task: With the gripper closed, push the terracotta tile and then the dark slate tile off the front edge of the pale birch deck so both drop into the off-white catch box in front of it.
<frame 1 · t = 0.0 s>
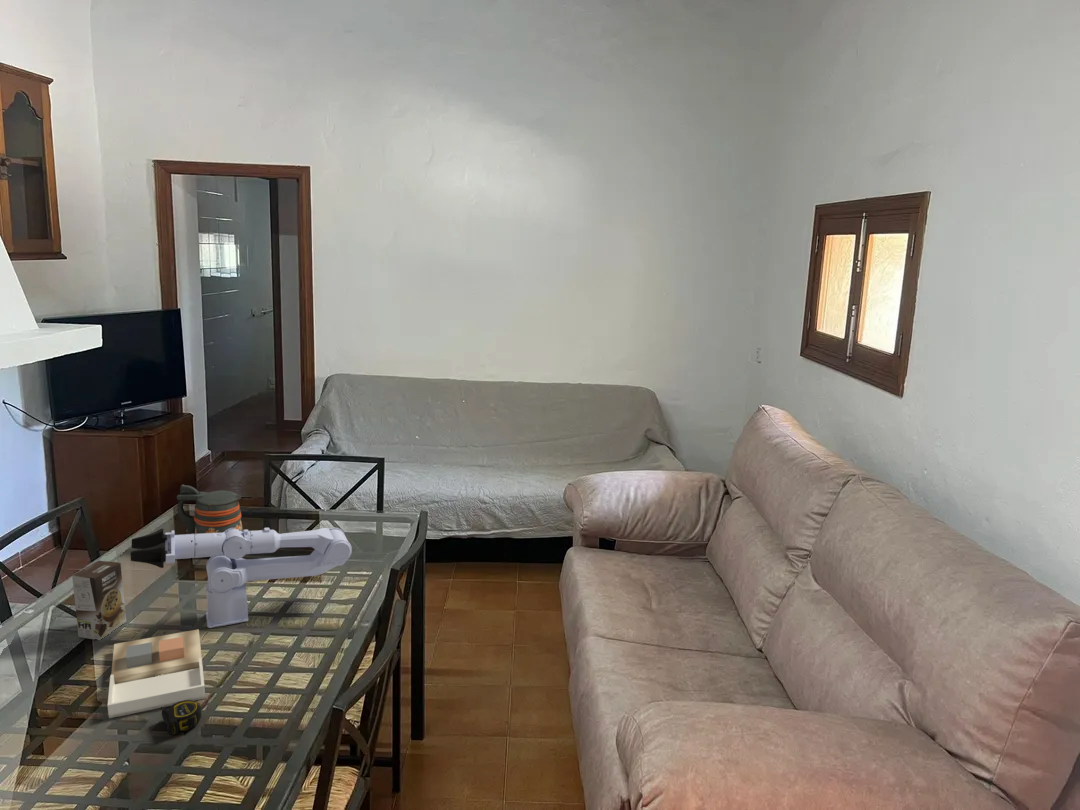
hand: (131, 549, 189), 22 cm above the table, fingers open, 7 cm apart
catch box: (158, 692, 171), on the table
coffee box: (103, 630, 195), on the table
tile slate: (140, 660, 179), point 2 cm above the table, touching deck
beer stein: (212, 548, 242), on the table
tile terracotta: (172, 654, 182), point 2 cm above the table, touching deck
deck: (158, 660, 183), on the table
tape measure: (180, 728, 160), on the table
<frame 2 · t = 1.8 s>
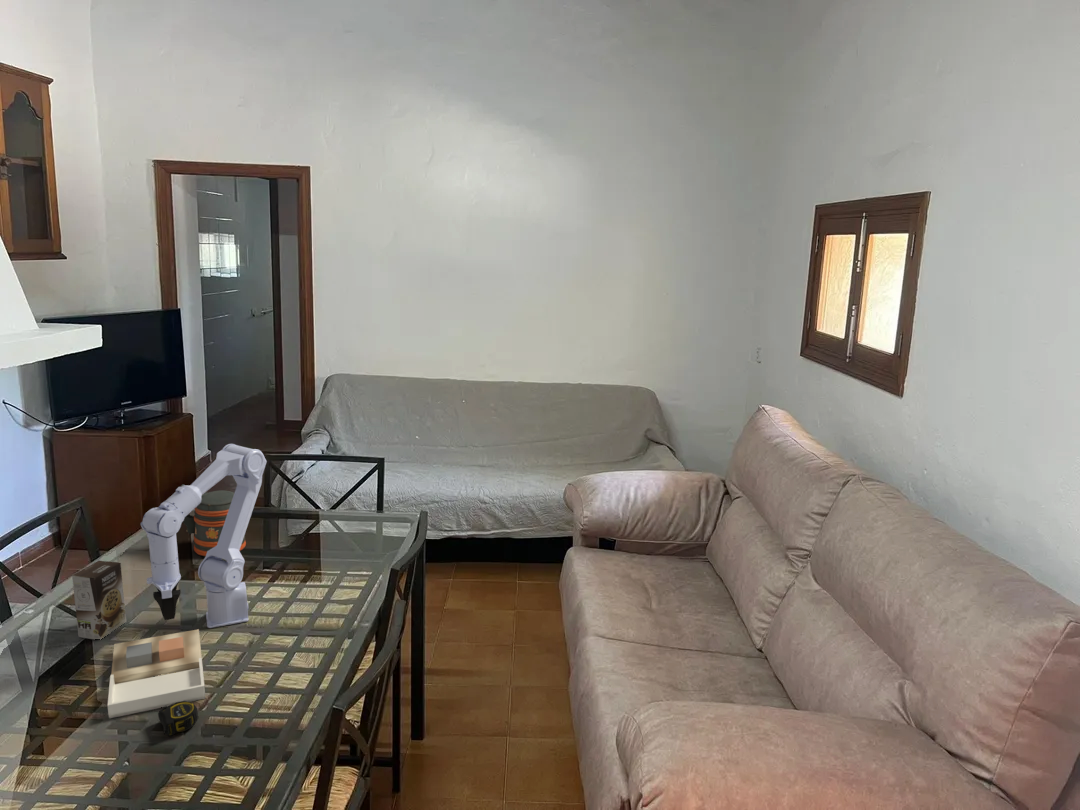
hand: (169, 613, 187), 8 cm above the table, fingers open, 5 cm apart
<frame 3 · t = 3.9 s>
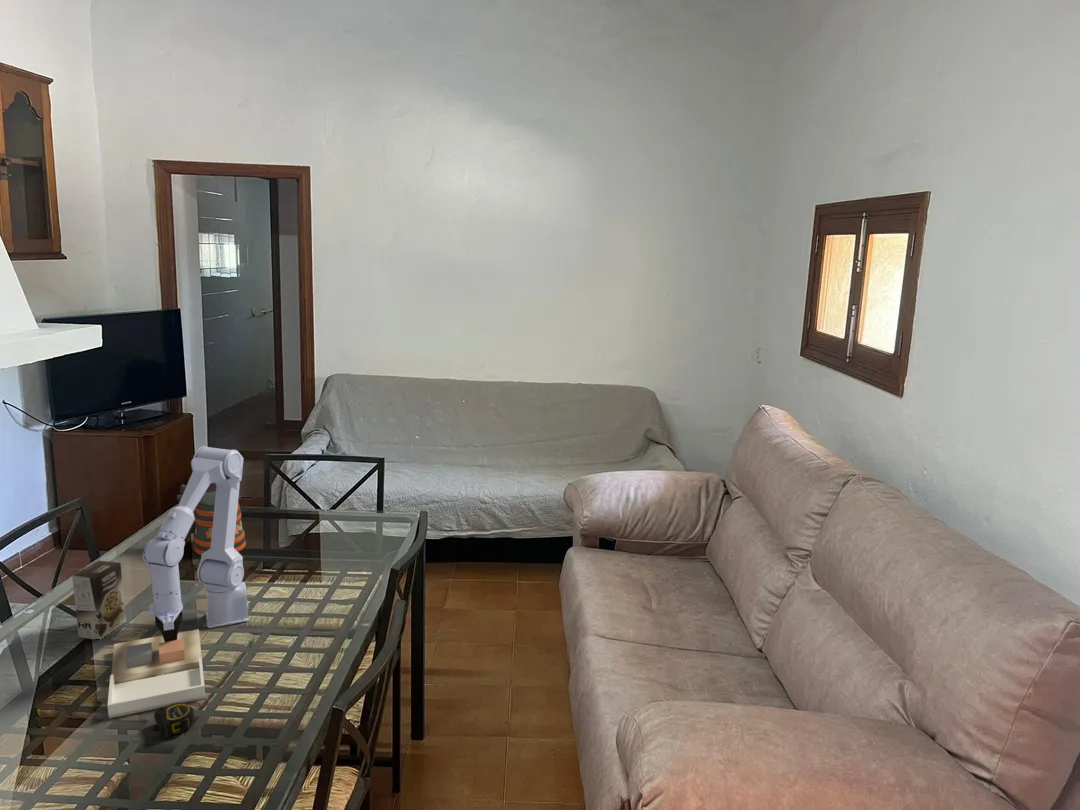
hand: (171, 643, 184), 3 cm above the table, fingers closed
tile terracotta: (172, 656, 181), point 2 cm above the table, touching deck, gripper
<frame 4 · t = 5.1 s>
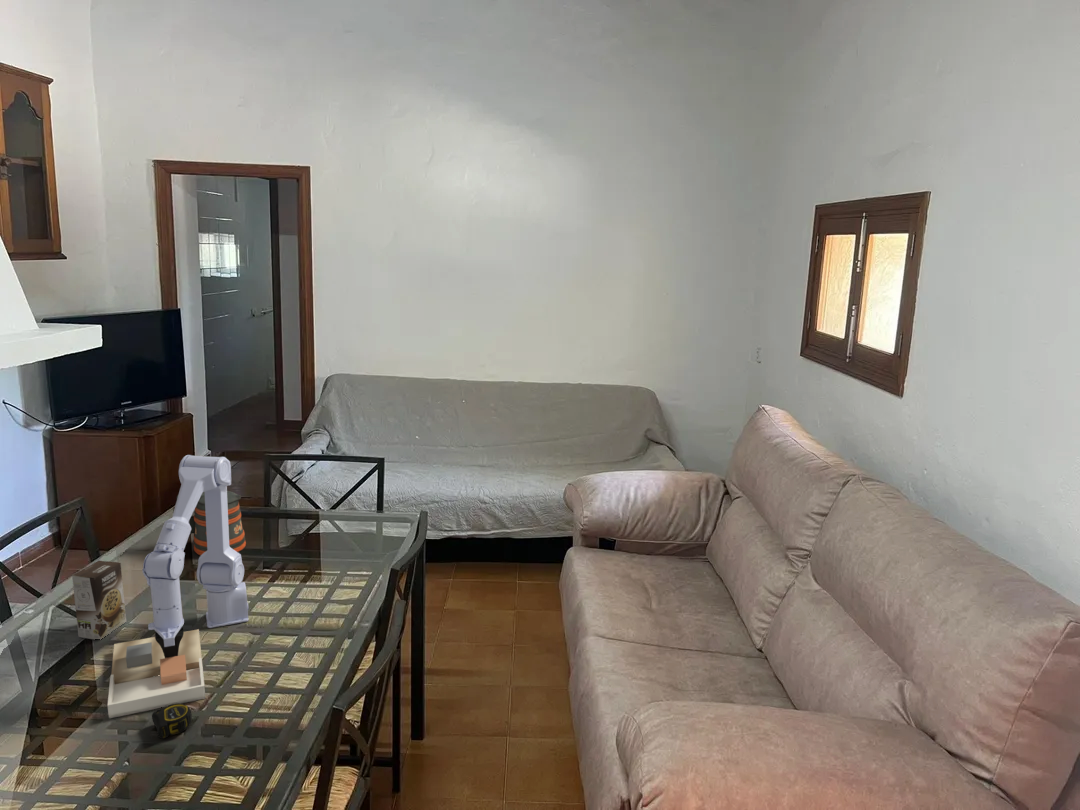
hand: (171, 659, 177), 3 cm above the table, fingers closed
tile terracotta: (173, 673, 176), point 1 cm above the table, tilted 18°, touching catch box, deck, gripper
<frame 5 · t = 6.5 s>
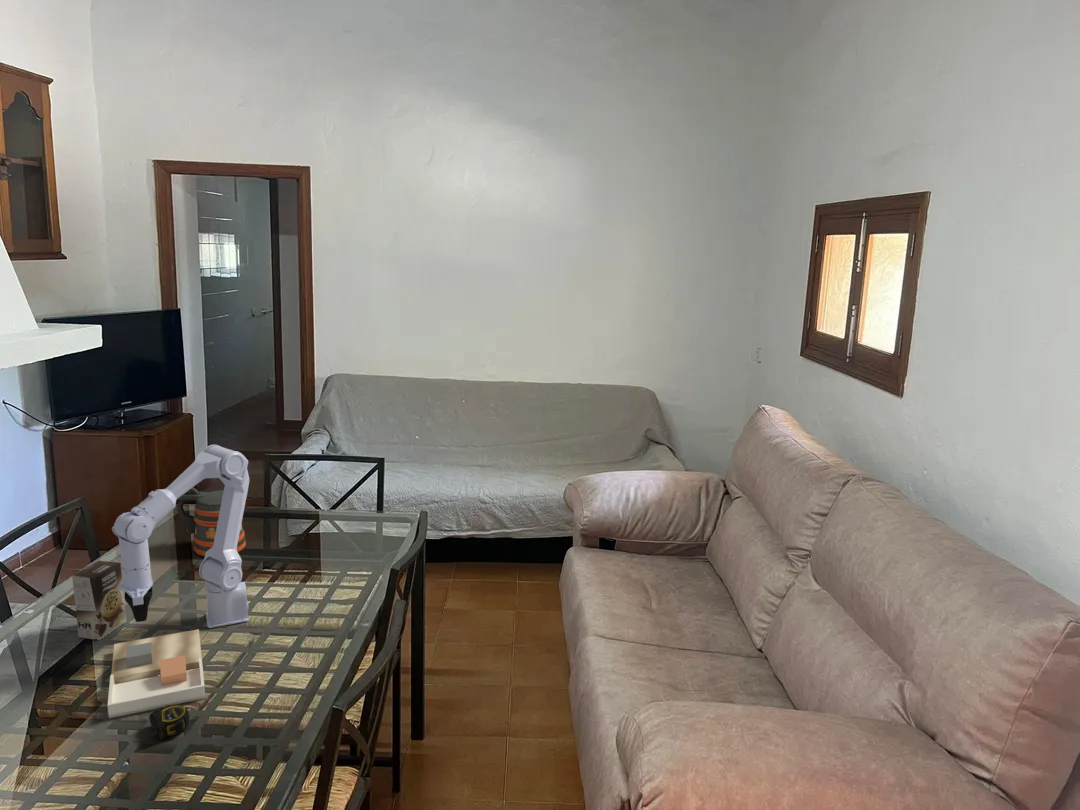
hand: (141, 620, 184), 8 cm above the table, fingers closed
tile terracotta: (173, 674, 175), point 1 cm above the table, tilted 17°, touching catch box, deck
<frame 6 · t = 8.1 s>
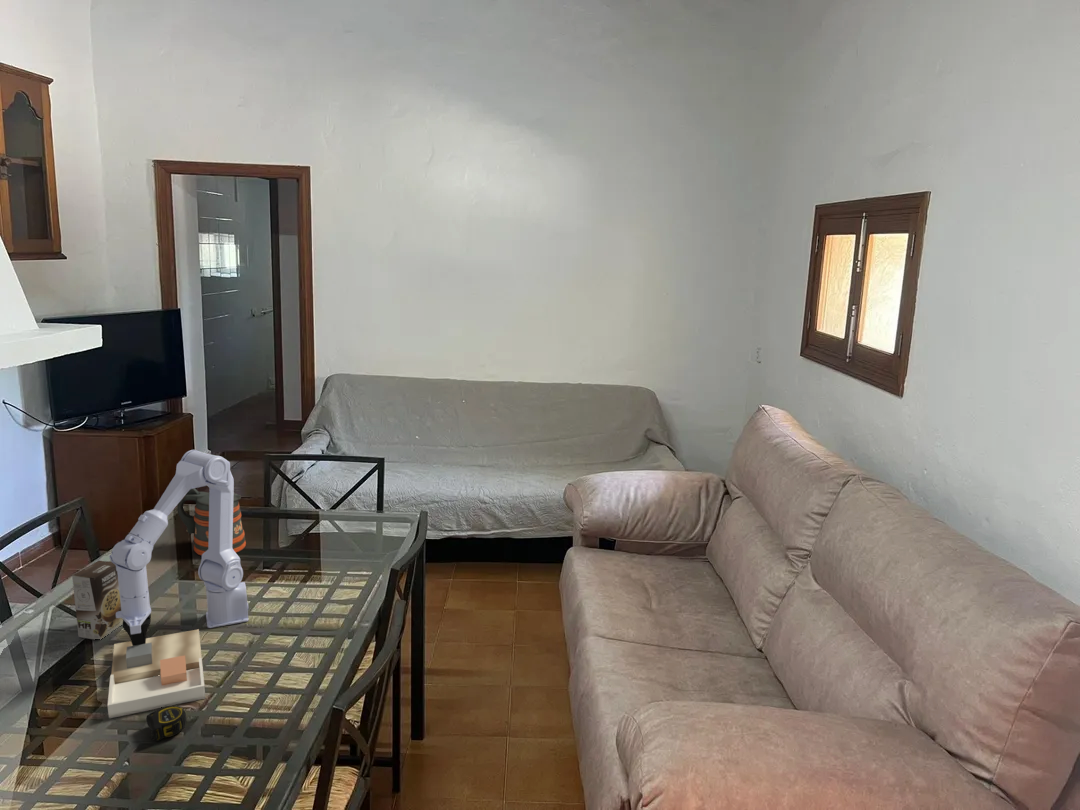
hand: (139, 647, 182), 3 cm above the table, fingers closed
tile slate: (140, 660, 179), point 2 cm above the table, touching deck, gripper
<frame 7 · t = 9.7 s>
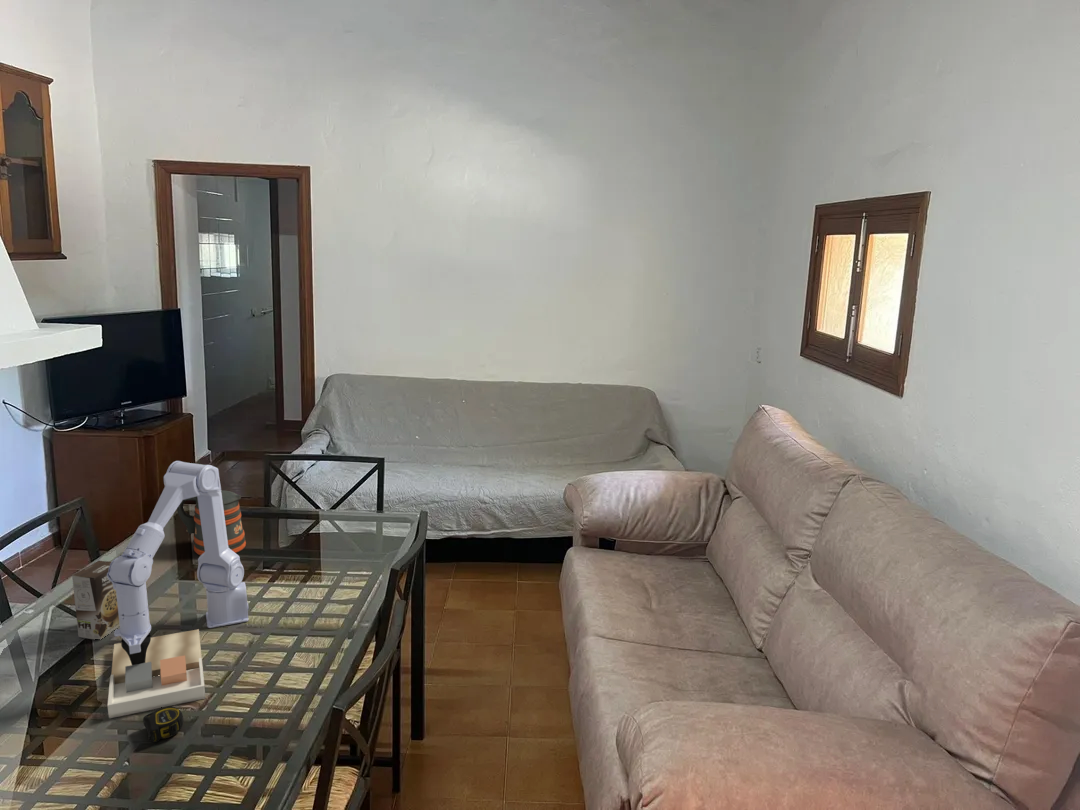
hand: (139, 666, 174), 3 cm above the table, fingers closed
tile slate: (139, 680, 173), point 1 cm above the table, tilted 17°, touching catch box, deck, gripper
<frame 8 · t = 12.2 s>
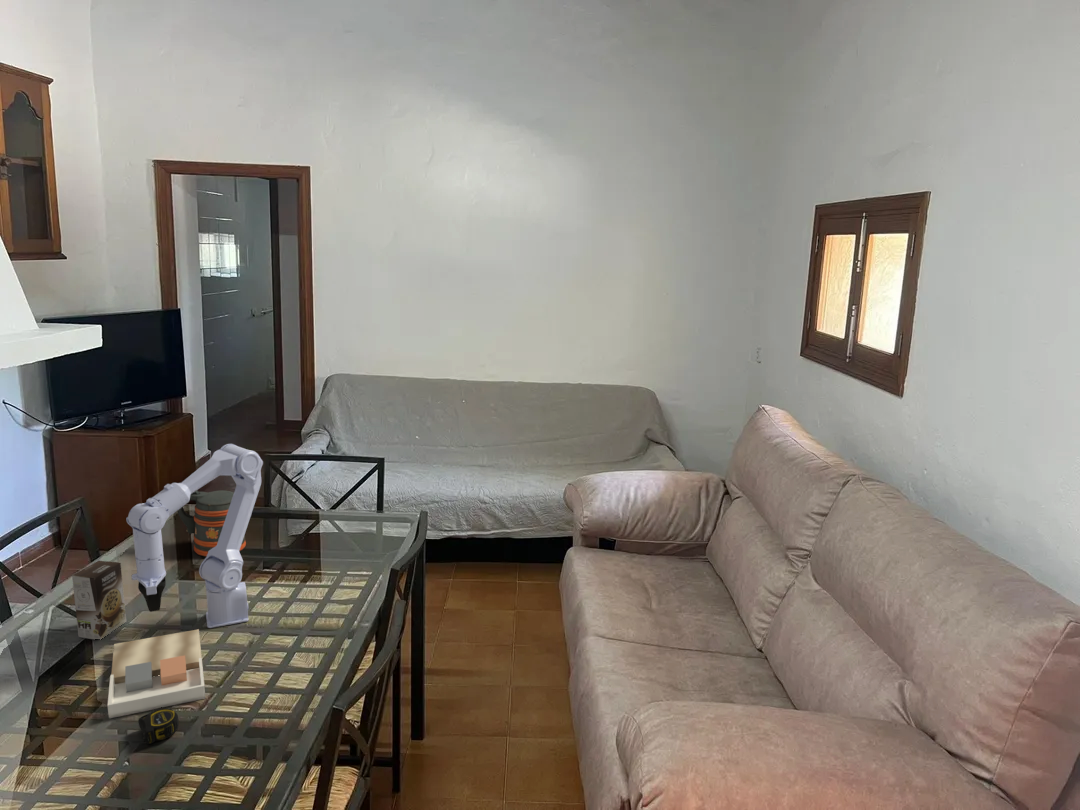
hand: (154, 609, 186), 9 cm above the table, fingers closed
tile slate: (139, 680, 173), point 1 cm above the table, tilted 17°, touching catch box, deck
at the end: tile terracotta inside the target area (4.8 cm from its centre), point 1.3 cm above the table; tile slate inside the target area (5.0 cm from its centre), point 1.3 cm above the table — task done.
